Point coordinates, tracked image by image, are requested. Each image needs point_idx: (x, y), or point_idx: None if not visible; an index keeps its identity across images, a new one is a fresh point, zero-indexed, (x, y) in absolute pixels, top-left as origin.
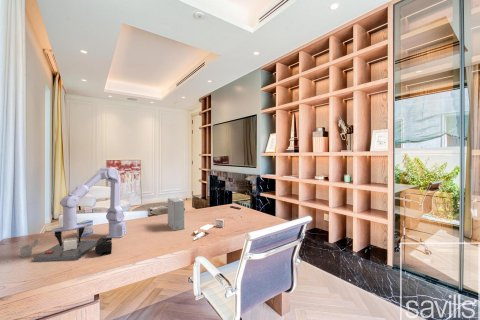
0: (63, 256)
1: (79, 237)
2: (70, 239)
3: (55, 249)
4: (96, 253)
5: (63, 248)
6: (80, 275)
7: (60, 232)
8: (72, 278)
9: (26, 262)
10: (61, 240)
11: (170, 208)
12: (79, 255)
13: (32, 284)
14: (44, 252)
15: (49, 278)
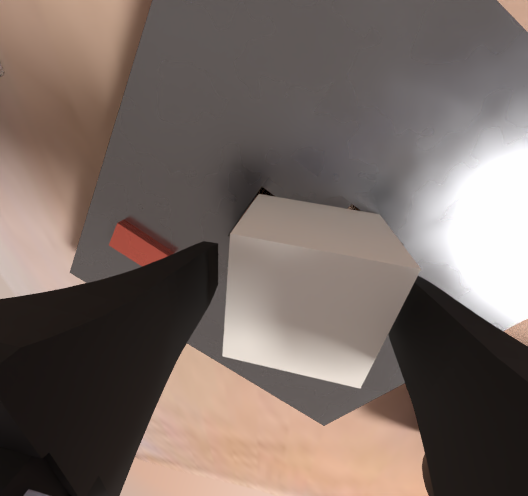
0: (248, 379)
1: (421, 402)
2: (303, 313)
3: (177, 198)
4: (424, 458)
5: (246, 208)
6: (303, 492)
7: (61, 489)
8: (279, 489)
9: (55, 237)
10: (188, 296)
11: None
12: (334, 416)
13: (172, 446)
14: (103, 213)
15: (213, 450)
